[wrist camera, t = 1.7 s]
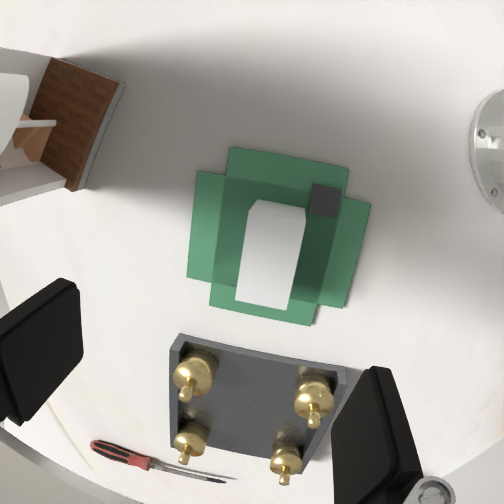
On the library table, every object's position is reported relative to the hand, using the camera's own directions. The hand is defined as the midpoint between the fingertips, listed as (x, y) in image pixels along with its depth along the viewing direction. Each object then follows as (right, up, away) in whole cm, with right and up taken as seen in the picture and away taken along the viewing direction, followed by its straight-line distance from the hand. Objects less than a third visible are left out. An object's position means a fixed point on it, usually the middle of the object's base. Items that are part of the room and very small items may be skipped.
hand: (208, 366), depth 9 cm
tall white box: (-18, +17, +18) cm, 31 cm away
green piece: (+3, +5, +20) cm, 20 cm away
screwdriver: (-15, -31, +34) cm, 49 cm away
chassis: (+1, -15, +26) cm, 30 cm away
